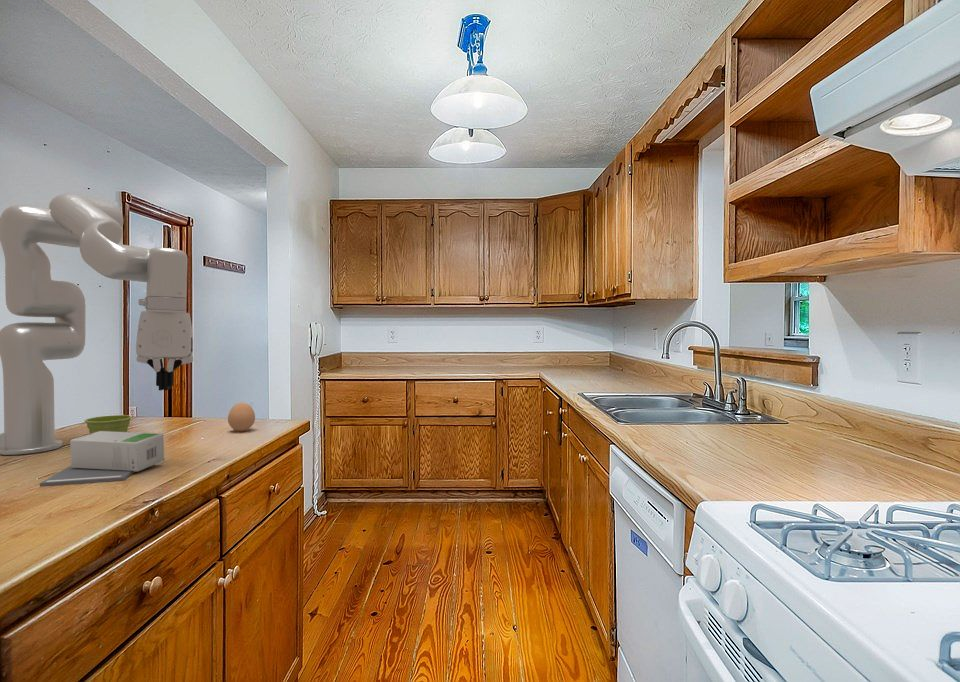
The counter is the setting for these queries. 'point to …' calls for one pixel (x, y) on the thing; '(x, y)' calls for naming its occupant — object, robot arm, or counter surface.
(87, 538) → the counter surface
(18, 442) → the robot arm
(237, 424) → the egg
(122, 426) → the plant pot
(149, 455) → the skincare box
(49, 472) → the counter surface
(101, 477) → the mat
